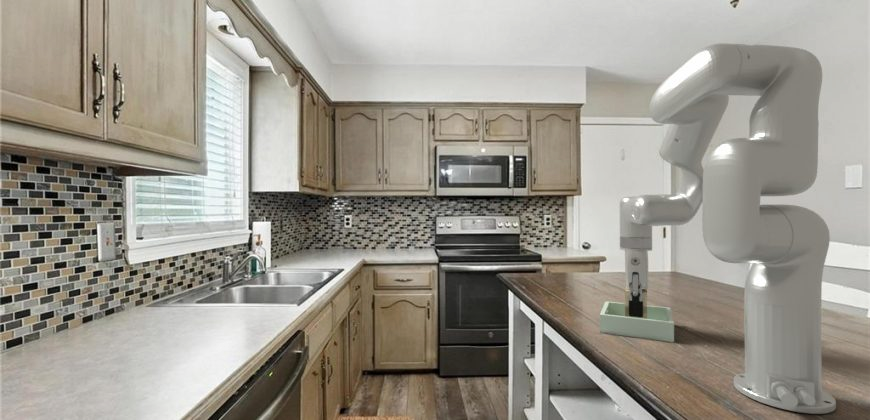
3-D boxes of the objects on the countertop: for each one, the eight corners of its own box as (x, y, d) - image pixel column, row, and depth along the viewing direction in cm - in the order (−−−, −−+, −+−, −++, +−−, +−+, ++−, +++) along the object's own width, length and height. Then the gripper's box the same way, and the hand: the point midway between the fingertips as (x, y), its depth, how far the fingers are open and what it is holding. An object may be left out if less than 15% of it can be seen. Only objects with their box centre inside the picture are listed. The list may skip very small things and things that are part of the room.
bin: (674, 342, 91) (674, 323, 91) (599, 332, 98) (599, 314, 98) (670, 324, 105) (670, 307, 105) (605, 316, 112) (605, 301, 112)
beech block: (647, 320, 98) (646, 292, 98) (625, 317, 100) (624, 290, 100) (647, 315, 102) (646, 289, 102) (625, 313, 105) (625, 287, 105)
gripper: (652, 247, 92) (653, 324, 92) (651, 242, 107) (652, 308, 107) (617, 246, 96) (618, 320, 96) (621, 241, 111) (621, 305, 111)
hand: (636, 313), depth 101 cm, fingers closed on beech block, 5 cm apart
